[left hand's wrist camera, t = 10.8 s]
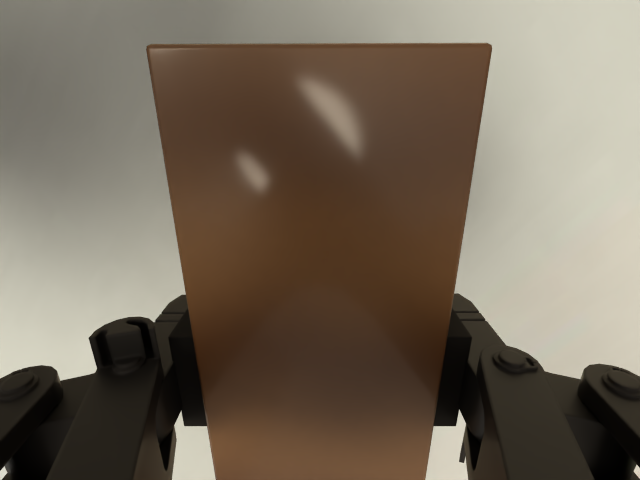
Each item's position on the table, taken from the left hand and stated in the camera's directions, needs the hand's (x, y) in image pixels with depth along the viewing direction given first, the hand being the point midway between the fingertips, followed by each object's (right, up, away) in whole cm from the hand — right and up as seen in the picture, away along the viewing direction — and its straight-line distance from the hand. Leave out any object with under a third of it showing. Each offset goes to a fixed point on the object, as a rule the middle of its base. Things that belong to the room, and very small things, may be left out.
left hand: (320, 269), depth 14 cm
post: (0, -30, +12) cm, 32 cm away
